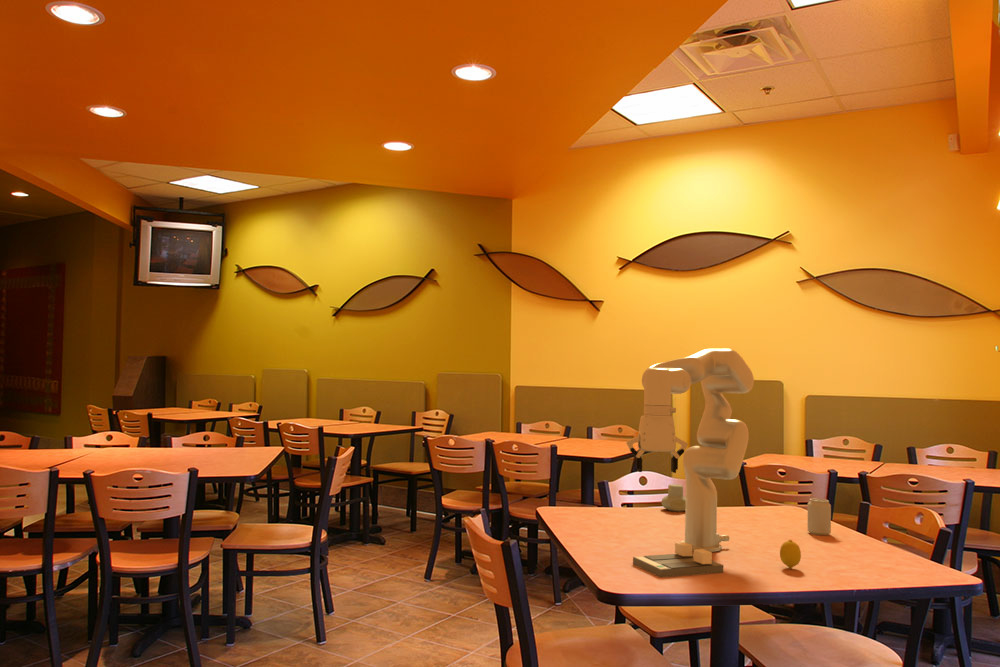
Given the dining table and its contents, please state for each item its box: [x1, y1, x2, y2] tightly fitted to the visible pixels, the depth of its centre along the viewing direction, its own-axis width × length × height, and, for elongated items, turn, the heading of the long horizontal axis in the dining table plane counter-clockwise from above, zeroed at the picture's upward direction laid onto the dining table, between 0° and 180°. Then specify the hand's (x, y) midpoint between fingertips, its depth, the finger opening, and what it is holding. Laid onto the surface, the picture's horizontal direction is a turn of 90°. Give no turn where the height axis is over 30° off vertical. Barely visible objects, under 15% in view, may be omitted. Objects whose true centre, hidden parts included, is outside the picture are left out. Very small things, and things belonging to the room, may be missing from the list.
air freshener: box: [661, 483, 686, 513], centre depth 300 cm, size 11×8×10 cm
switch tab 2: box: [693, 549, 713, 564], centre depth 204 cm, size 3×4×3 cm
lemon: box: [779, 539, 802, 570], centre depth 210 cm, size 6×6×8 cm
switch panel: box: [632, 552, 724, 578], centre depth 206 cm, size 20×14×2 cm
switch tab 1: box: [674, 541, 693, 556], centre depth 212 cm, size 3×4×3 cm
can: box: [807, 498, 832, 536], centre depth 261 cm, size 8×8×12 cm
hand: (656, 471), depth 211 cm, fingers open, 9 cm apart
